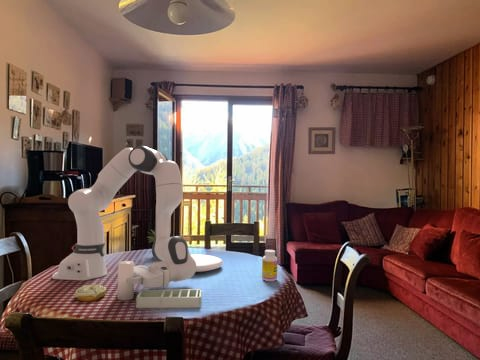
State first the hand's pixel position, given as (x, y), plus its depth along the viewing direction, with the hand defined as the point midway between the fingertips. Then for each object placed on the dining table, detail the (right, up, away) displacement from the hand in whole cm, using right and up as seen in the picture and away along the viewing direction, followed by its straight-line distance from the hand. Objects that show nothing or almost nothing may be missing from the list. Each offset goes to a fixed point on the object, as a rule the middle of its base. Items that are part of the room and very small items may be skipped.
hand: (123, 279), depth 135 cm
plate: (+21, -7, +45) cm, 50 cm away
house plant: (-3, -6, +70) cm, 70 cm away
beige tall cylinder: (+1, -7, +1) cm, 7 cm away
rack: (+18, -7, -4) cm, 20 cm away
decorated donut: (-12, -7, +1) cm, 14 cm away
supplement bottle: (+56, -8, +27) cm, 63 cm away
